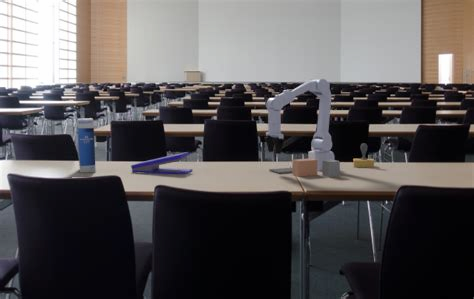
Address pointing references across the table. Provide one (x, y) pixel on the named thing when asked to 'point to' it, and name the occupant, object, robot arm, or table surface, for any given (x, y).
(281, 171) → the charcoal mat
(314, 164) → the salmon rectangular prism
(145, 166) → the stapler
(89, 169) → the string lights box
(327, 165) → the grey rectangular block
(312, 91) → the robot arm
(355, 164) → the rubber stamp
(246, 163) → the table surface
